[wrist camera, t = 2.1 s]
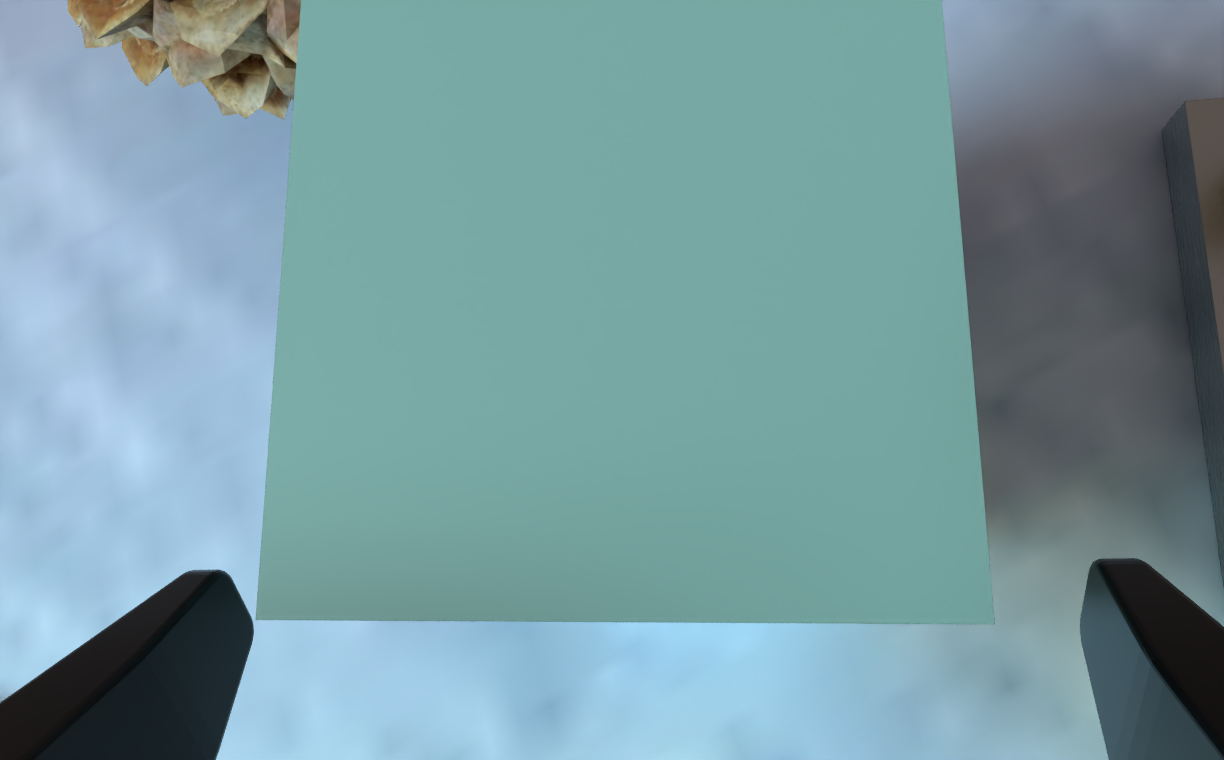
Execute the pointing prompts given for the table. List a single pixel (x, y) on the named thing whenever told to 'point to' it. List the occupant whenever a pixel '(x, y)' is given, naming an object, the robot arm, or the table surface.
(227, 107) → the pine cone
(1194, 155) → the plate
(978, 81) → the table surface
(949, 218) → the teal block
